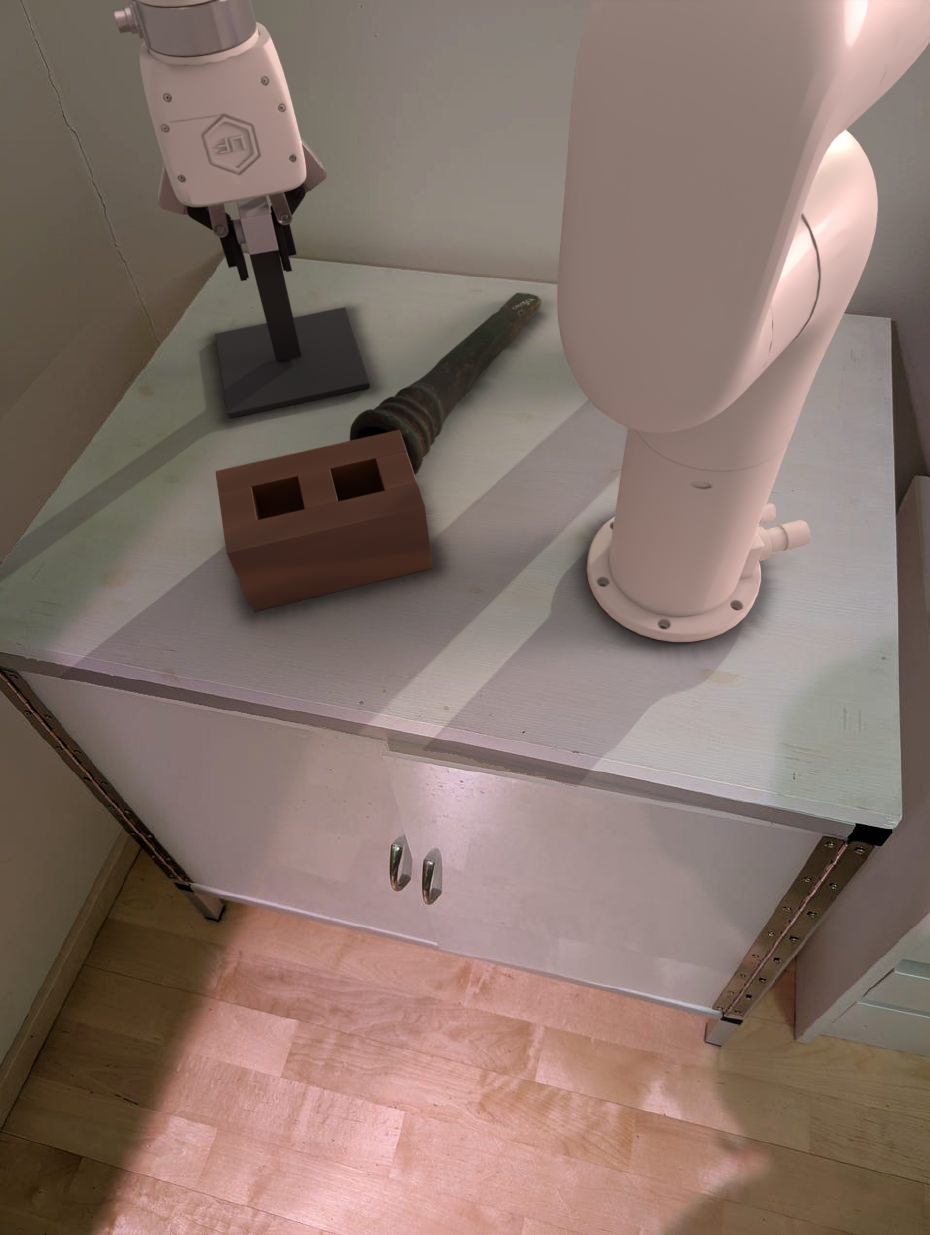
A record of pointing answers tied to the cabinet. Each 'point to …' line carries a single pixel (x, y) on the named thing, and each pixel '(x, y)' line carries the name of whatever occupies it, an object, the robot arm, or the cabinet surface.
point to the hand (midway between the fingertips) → (264, 265)
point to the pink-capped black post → (268, 274)
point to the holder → (323, 520)
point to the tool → (445, 382)
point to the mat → (290, 364)
